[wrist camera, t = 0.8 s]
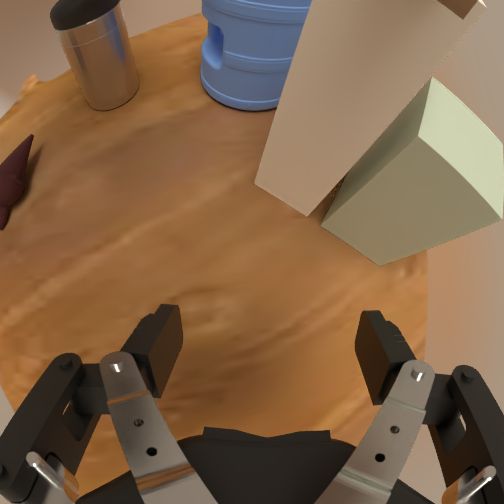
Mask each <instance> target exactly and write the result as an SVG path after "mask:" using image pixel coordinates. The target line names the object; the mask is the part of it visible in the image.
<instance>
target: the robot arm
mask: <svg viewBox="0 0 504 504" xmlns="http://www.w3.org/2000/svg"><path fill="white" fill-rule="evenodd" d="M50 18H51V21H52V24H53V26H54V28H55V31H56V33H57V36H58V38H59V41H60V43H61V45H62V47H63V50H64V52H65V54H66V57H67V59H68V61H69V63H70V66H71V68H72V70H73V72H74V75H75V77H76V79H77V81H78V83H79V85H80V87H81V90H82V92H83V94H84V96H85V98H86V100H87V102H88V104H89V105H90V107H91V108H93V109H95V110H101V111H104V110H110V109H114V108H116V107H119V106H121V105H122V104H124V103H126V102H127V101H128V100H130V99H131V98H132V97H133V96H134V94H135V93H136V92H137V90H138V87H139V79H138V75H137V71H136V67H135V63H134V59H133V54H132V50H131V46H130V41H129V37H128V32H127V28H126V23H125V18H124V14H123V10H122V4H121V0H59V1H58V2H57V3H56V4H55V6H54V7H53V8H52V10H51V12H50ZM182 344H183V330H182V323H181V316H180V309H179V306H178V305H170V304H161V305H160V306H159V308H158V309H157V311H156V312H155V314H149V315H147V316H146V317H144V318H143V319H141V321H140V322H139V324H138V325H137V328H135V330H134V331H133V333H132V334H131V335H130V337H129V338H128V340H127V341H126V343H125V344H124V346H123V347H122V349H121V350H120V351H119V352H113V353H110V354H108V355H106V356H105V357H103V358H102V360H101V361H100V363H96V364H83V363H82V361H81V359H80V357H79V356H78V355H77V354H74V353H65V354H61V355H59V356H57V357H56V358H55V359H54V360H53V361H52V362H51V364H50V365H49V366H48V367H47V369H46V370H45V372H44V373H43V374H42V376H41V377H40V378H39V380H38V381H37V382H36V384H35V385H34V387H33V388H32V389H31V391H30V392H29V394H28V395H27V397H26V398H25V399H24V401H23V402H22V404H21V405H20V407H19V408H18V410H17V411H16V413H15V414H14V416H13V417H12V419H11V420H10V422H9V424H8V425H7V427H6V428H5V430H4V432H3V433H2V435H1V436H0V494H1V495H2V496H3V497H4V498H5V499H6V500H7V501H9V502H10V503H11V504H435V503H433V502H432V501H430V500H428V499H427V498H426V497H424V496H422V495H421V494H419V493H418V492H417V491H415V490H414V489H412V488H411V487H409V486H408V485H406V484H405V483H404V482H402V481H401V480H400V479H398V477H399V474H400V472H401V471H402V469H403V466H404V464H405V462H406V460H407V458H408V456H409V453H410V451H411V449H412V447H413V444H414V442H415V439H416V437H417V435H418V432H419V430H420V427H421V425H422V424H427V425H428V428H429V431H430V434H431V437H432V440H433V443H434V446H435V449H436V453H437V456H438V459H439V462H440V466H441V469H442V473H443V476H444V480H445V484H446V487H447V489H446V490H445V492H444V494H443V496H442V504H504V415H503V413H502V411H501V409H500V407H499V406H498V404H497V402H496V400H495V399H494V397H493V395H492V393H491V392H490V390H489V388H488V387H487V385H486V383H485V382H484V380H483V378H482V377H481V375H480V374H479V372H478V371H477V370H476V369H474V368H473V367H470V366H467V365H460V366H457V367H456V368H455V369H454V370H453V372H452V374H451V375H444V374H435V372H434V370H433V368H432V367H431V366H430V365H429V364H427V363H426V362H423V361H420V360H417V359H416V357H415V356H414V354H413V352H412V351H411V349H410V347H409V345H408V344H407V342H405V339H404V337H403V336H402V334H401V332H400V330H399V329H398V327H397V326H396V325H394V324H393V323H392V322H390V321H386V320H385V319H384V317H383V315H382V314H381V312H380V311H379V310H373V311H363V312H362V313H361V317H360V321H359V326H358V330H357V334H356V339H355V352H356V355H357V358H358V361H359V364H360V367H361V370H362V373H363V376H364V379H365V382H366V385H367V388H368V391H369V394H370V397H371V400H372V403H373V405H381V404H382V406H381V408H380V410H379V412H378V413H377V415H376V417H375V419H374V420H373V422H372V424H371V425H370V427H369V429H368V430H367V432H366V434H365V435H364V437H363V439H362V440H361V442H360V443H359V445H358V446H357V447H355V446H354V445H351V444H349V443H347V442H344V441H341V440H337V439H331V437H330V430H324V431H299V432H295V433H290V434H285V435H280V436H275V437H269V438H266V437H261V436H257V435H253V434H249V433H245V432H242V431H238V430H233V429H221V428H212V427H204V432H203V435H197V436H191V437H187V438H184V439H181V440H179V441H177V442H176V440H175V439H174V437H173V435H172V433H171V432H170V430H169V428H168V426H167V424H166V422H165V420H164V419H163V417H162V415H161V413H160V411H159V409H158V407H157V405H156V403H155V401H154V399H153V397H154V398H161V396H162V393H163V391H164V388H165V386H166V384H167V381H168V379H169V376H170V374H171V371H172V369H173V367H174V364H175V362H176V359H177V357H178V355H179V352H180V350H181V348H182ZM68 403H70V404H69V405H68V407H67V409H66V411H65V413H64V414H63V411H64V409H65V408H66V406H67V404H68ZM101 414H110V415H111V418H112V421H113V424H114V427H115V430H116V433H117V436H118V438H119V441H120V444H121V447H122V449H123V452H124V454H125V457H126V459H127V462H128V464H129V467H130V469H131V470H129V471H128V472H126V473H124V474H122V475H121V476H119V477H117V478H115V479H114V480H112V481H110V482H108V483H106V484H104V485H103V486H101V487H99V488H97V489H95V490H93V491H91V492H89V493H87V494H85V495H83V496H82V497H80V498H79V494H78V492H79V484H78V481H77V479H76V478H75V477H74V476H75V474H76V471H77V469H78V466H79V464H80V462H81V459H82V457H83V454H84V452H85V450H86V448H87V445H88V443H89V441H90V438H91V436H92V434H93V432H94V429H95V427H96V425H97V423H98V421H99V419H100V416H101ZM461 415H462V417H463V419H464V422H465V424H466V431H465V429H464V427H463V424H462V422H461V420H460V416H461ZM78 498H79V499H78Z"/></svg>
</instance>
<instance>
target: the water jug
mask: <svg viewBox="0 0 504 504" xmlns="http://www.w3.org/2000/svg"><path fill="white" fill-rule="evenodd" d="M311 2H312V0H202V13H203V15H204V17H205V18H206V19H207V20H208V36H207V37H206V38H205V40H204V41H203V44H202V48H201V64H202V65H201V82H202V85H203V87H204V88H205V90H206V91H207V92H208V94H209V95H210V96H212V97H213V98H214V99H216V100H217V101H219V102H221V103H222V104H225V105H227V106H230V107H233V108H237V109H242V110H252V111H257V110H267V109H271V108H275V107H278V104H279V100H280V97H281V94H282V91H283V88H284V85H285V81H286V78H287V75H288V72H289V69H290V66H291V63H292V60H293V57H294V53H295V50H296V47H297V44H298V41H299V38H300V35H301V32H302V29H303V26H304V23H305V20H306V17H307V14H308V11H309V8H310V5H311Z"/></svg>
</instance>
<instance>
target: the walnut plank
mask: <svg viewBox="0 0 504 504" xmlns="http://www.w3.org/2000/svg"><path fill="white" fill-rule="evenodd" d="M437 1H438V2H440V3H441V4H443V5H444V6H445V7H447V8H448V9H450V10H451V11H452V12H454V13H455V14H456V15H457V16H459V17H460V18H461V19H462V20H463V19H464V18H465V17H466V15H467V14H468V13H469V11H470V10H471V9H472V8H473V6H474V5H475V4H476V2H477V1H478V0H437Z"/></svg>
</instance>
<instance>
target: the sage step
mask: <svg viewBox="0 0 504 504" xmlns="http://www.w3.org/2000/svg"><path fill="white" fill-rule="evenodd" d="M503 196H504V165H503V145H502V143H501V142H500V141H499V140H498V138H497V137H496V136H495V135H494V134H493V133H492V132H491V131H490V129H489V128H488V127H487V126H486V125H485V124H484V123H483V122H482V121H481V120H480V119H479V118H478V117H477V116H476V115H475V114H474V113H473V112H472V111H471V110H470V109H469V108H468V107H467V106H466V105H465V104H464V103H463V102H461V101H460V100H459V99H458V98H457V97H456V96H455V95H454V94H453V93H451V92H450V91H449V90H448V89H447V88H446V87H445V86H443V85H442V84H441V83H440V82H439V81H437V80H436V79H435V78H433V77H431V78H430V79H429V80H428V81H427V83H426V84H425V85H424V86H423V88H421V90H420V91H419V92H418V93H417V94H416V96H415V97H414V98H413V99H412V100H411V101H410V102H409V104H408V105H407V106H406V107H405V108H404V109H403V110H402V112H401V113H400V114H399V115H398V116H397V117H396V118H395V120H394V121H393V122H392V123H391V124H390V125H389V126H388V128H387V129H386V130H385V131H384V132H383V133H382V134H381V136H380V137H379V138H378V139H377V140H376V141H375V142H374V144H373V145H372V146H371V147H370V148H369V149H368V150H367V151H366V153H365V154H364V155H363V156H362V157H361V158H360V159H359V160H358V162H357V163H356V164H355V165H354V166H353V167H352V168H351V169H350V170H349V172H348V174H347V176H346V178H345V179H344V181H343V183H342V185H341V187H340V189H339V191H338V193H337V195H336V197H335V199H334V200H333V202H332V204H331V206H330V208H329V210H328V212H327V214H326V215H325V217H324V219H323V221H322V223H321V225H320V226H321V227H323V228H324V229H326V230H327V231H329V232H330V233H332V234H333V235H335V236H336V237H338V238H339V239H341V240H342V241H344V242H345V243H347V244H348V245H350V246H351V247H353V248H354V249H356V250H357V251H358V252H360V253H361V254H363V255H364V256H366V257H367V258H368V259H370V260H371V261H373V262H374V263H375V264H377V265H378V266H382V265H385V264H388V263H391V262H394V261H397V260H399V259H402V258H405V257H408V256H411V255H413V254H416V253H419V252H422V251H424V250H427V249H430V248H432V247H435V246H438V245H440V244H443V243H446V242H448V241H451V240H453V239H456V238H459V237H461V236H464V235H466V234H469V233H471V232H474V231H476V230H478V229H481V228H483V227H486V226H488V225H491V224H493V223H495V222H498V221H500V220H502V215H503Z"/></svg>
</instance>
